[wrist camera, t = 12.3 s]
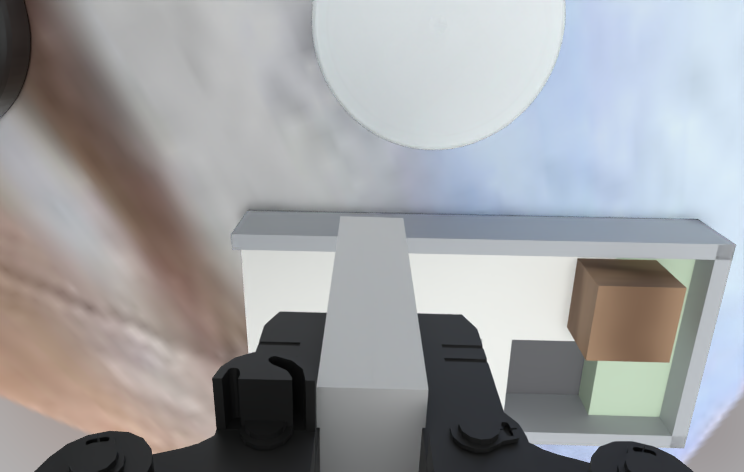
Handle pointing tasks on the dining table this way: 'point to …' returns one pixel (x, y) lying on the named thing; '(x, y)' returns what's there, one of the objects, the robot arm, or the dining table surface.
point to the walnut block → (625, 310)
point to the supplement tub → (436, 64)
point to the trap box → (519, 307)
